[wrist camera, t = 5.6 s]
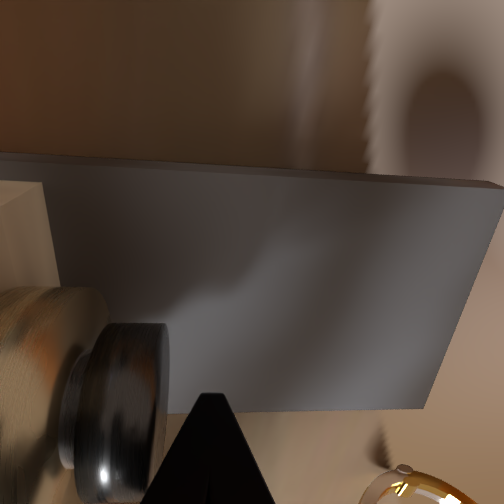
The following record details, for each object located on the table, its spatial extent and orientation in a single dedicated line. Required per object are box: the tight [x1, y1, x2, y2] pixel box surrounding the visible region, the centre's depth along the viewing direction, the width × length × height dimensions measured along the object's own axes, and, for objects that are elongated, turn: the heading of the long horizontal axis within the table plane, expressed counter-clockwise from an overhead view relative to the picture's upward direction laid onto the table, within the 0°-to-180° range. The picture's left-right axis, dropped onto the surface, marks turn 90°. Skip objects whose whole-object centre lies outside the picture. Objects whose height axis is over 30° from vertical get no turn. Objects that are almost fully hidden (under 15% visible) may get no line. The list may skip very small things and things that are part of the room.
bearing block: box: [0, 152, 504, 414], centre depth 8 cm, size 26×9×8 cm, turn 85°
